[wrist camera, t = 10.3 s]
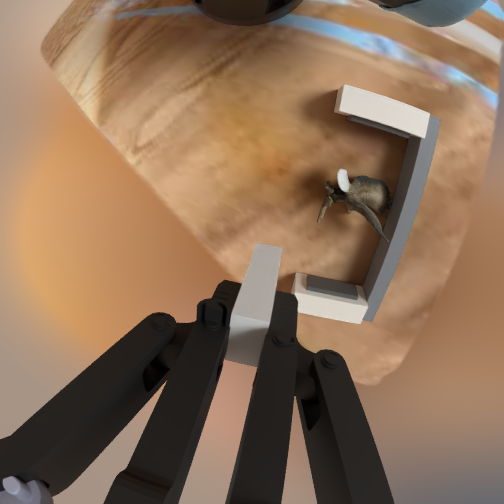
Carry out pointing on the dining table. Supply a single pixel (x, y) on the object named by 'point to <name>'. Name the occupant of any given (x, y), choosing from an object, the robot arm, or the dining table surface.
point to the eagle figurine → (359, 197)
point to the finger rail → (400, 214)
